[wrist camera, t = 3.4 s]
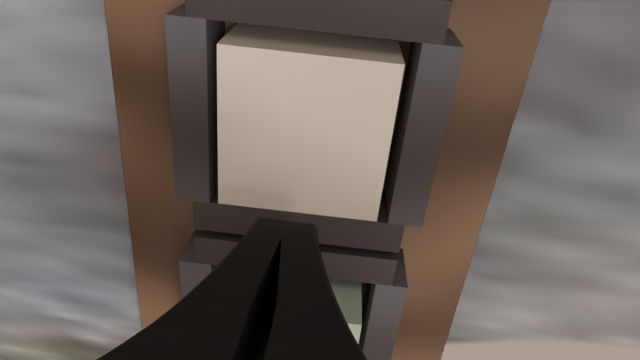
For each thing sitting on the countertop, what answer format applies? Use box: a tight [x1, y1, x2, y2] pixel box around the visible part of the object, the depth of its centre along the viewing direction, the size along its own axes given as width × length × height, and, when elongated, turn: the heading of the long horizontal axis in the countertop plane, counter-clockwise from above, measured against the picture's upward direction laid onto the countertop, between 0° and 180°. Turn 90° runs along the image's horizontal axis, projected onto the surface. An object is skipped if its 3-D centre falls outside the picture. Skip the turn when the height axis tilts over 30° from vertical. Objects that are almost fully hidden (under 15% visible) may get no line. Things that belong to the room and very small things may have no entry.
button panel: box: [104, 0, 551, 360], centre depth 15 cm, size 24×12×4 cm, turn 175°
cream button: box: [217, 23, 405, 222], centre depth 14 cm, size 4×4×2 cm
